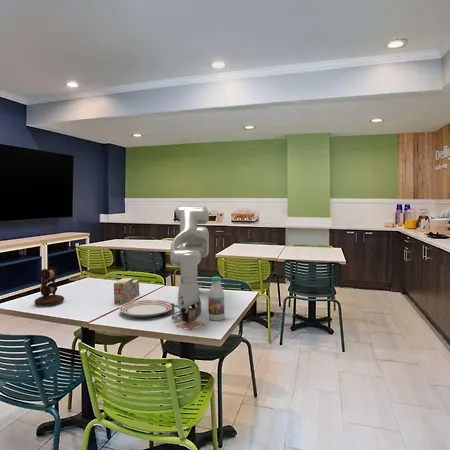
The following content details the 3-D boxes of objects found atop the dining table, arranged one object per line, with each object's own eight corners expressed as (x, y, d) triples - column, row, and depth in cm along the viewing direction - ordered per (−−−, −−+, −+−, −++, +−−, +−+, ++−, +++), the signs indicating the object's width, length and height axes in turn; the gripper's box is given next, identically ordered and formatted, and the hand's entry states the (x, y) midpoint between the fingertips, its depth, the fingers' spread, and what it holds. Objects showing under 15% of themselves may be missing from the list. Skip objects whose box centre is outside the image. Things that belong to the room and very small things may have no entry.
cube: (195, 319, 164) (195, 309, 163) (188, 322, 160) (188, 311, 159) (187, 317, 167) (187, 307, 166) (180, 320, 163) (180, 309, 162)
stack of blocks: (129, 294, 217) (129, 274, 216) (139, 294, 216) (139, 274, 216) (114, 304, 196) (113, 282, 195) (124, 305, 195) (124, 282, 194)
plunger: (193, 311, 183) (193, 299, 182) (201, 312, 180) (200, 301, 180) (169, 320, 168) (169, 308, 168) (177, 322, 166) (176, 309, 165)
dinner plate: (140, 302, 201) (140, 296, 201) (183, 307, 191) (183, 301, 191) (107, 317, 175) (107, 310, 175) (155, 324, 165) (155, 317, 165)
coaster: (188, 320, 169) (188, 319, 169) (203, 324, 164) (203, 323, 164) (175, 326, 162) (175, 324, 162) (190, 330, 157) (190, 328, 157)
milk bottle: (208, 315, 176) (207, 275, 175) (223, 315, 177) (223, 275, 175) (208, 321, 168) (208, 279, 167) (225, 320, 169) (224, 278, 168)
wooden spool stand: (44, 299, 206) (42, 265, 205) (69, 300, 206) (67, 265, 204) (28, 307, 192) (27, 270, 190) (55, 307, 191) (54, 270, 189)
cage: (188, 312, 182) (188, 297, 181) (200, 315, 177) (200, 300, 177) (171, 318, 172) (171, 303, 171) (184, 321, 167) (183, 306, 167)
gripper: (194, 275, 171) (195, 313, 172) (169, 282, 157) (170, 323, 158) (207, 277, 166) (207, 315, 168) (182, 284, 152) (183, 326, 154)
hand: (189, 318), depth 163 cm, fingers closed on cube, 5 cm apart
